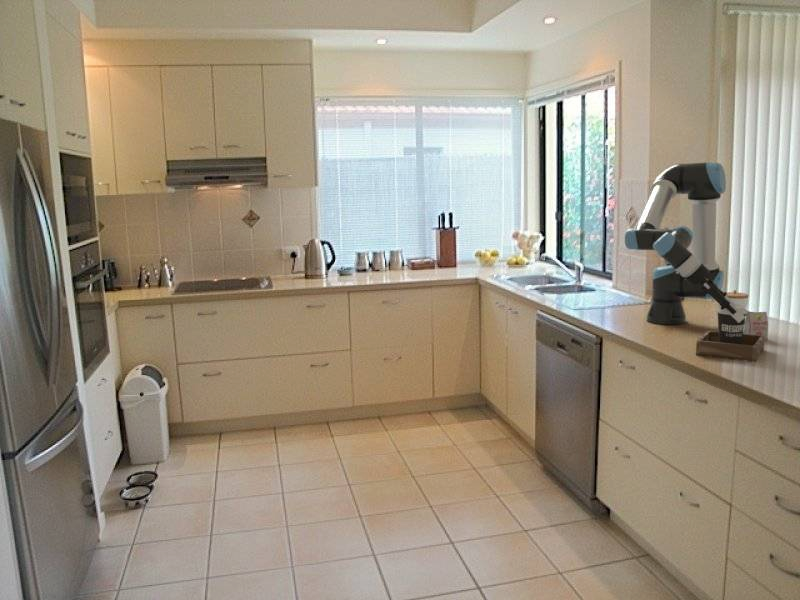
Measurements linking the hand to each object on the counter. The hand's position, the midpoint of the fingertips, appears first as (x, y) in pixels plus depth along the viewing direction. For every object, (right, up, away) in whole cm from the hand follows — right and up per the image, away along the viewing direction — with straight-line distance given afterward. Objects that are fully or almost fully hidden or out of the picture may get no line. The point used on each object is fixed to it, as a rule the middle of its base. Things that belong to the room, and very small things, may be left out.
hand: (739, 315), depth 231 cm
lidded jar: (+34, 0, +74) cm, 81 cm away
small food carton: (+16, -9, +22) cm, 29 cm away
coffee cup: (-2, -12, +3) cm, 12 cm away
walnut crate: (-2, -13, +3) cm, 13 cm away
